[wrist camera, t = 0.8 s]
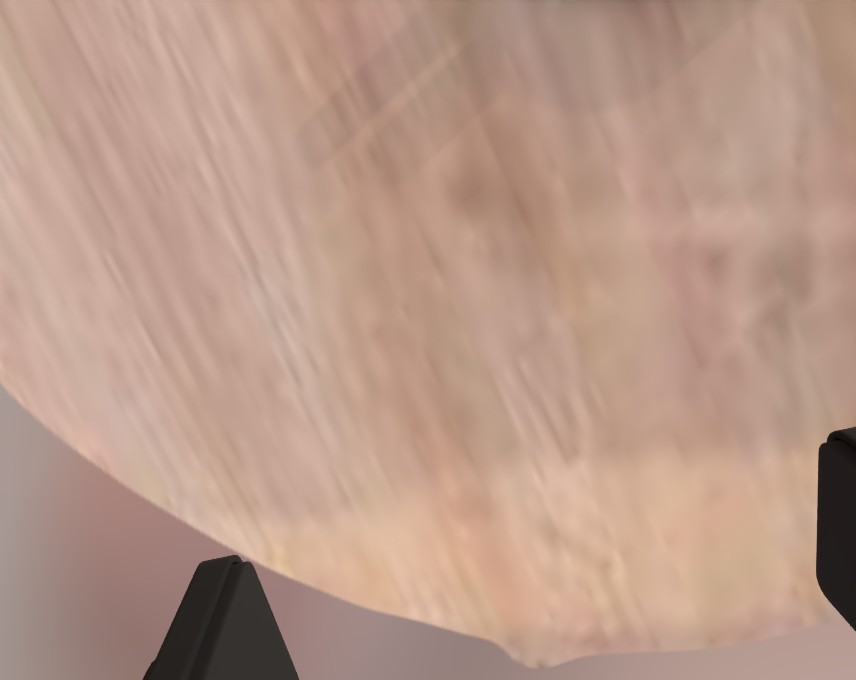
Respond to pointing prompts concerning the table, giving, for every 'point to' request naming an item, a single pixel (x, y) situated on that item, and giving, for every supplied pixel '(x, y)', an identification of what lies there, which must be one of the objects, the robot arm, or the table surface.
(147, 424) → the table surface
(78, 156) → the table surface
